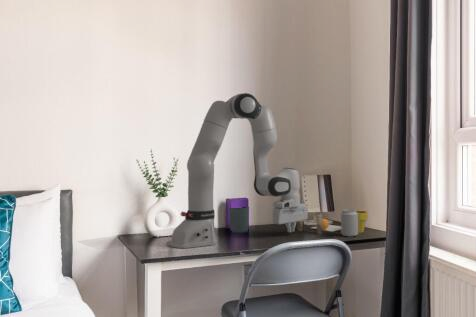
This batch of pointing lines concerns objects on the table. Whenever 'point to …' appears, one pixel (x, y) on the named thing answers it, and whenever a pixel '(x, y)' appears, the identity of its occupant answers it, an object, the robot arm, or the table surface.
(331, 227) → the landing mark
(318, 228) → the right post
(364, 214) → the plant pot
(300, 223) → the left post
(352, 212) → the can
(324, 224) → the ball
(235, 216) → the dark grey cylinder
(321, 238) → the table surface
